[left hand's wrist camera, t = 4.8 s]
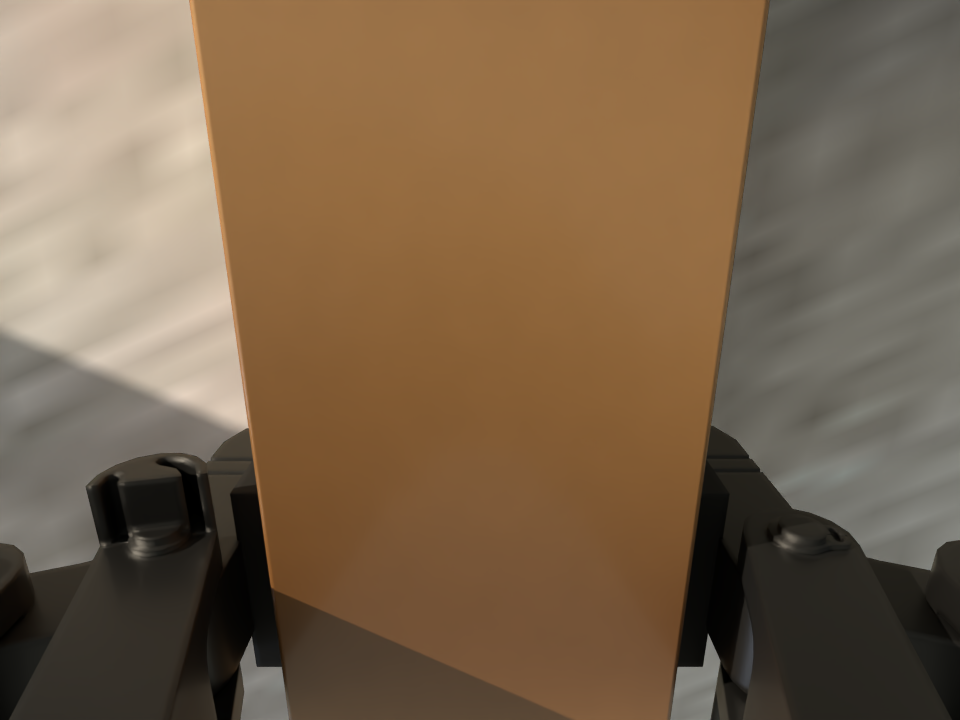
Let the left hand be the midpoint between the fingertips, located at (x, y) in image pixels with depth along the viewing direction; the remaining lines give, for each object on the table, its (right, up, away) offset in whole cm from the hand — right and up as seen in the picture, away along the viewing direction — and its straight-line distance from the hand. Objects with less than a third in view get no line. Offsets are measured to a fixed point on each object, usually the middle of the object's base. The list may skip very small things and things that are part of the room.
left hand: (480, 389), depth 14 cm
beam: (0, +27, -9) cm, 28 cm away
